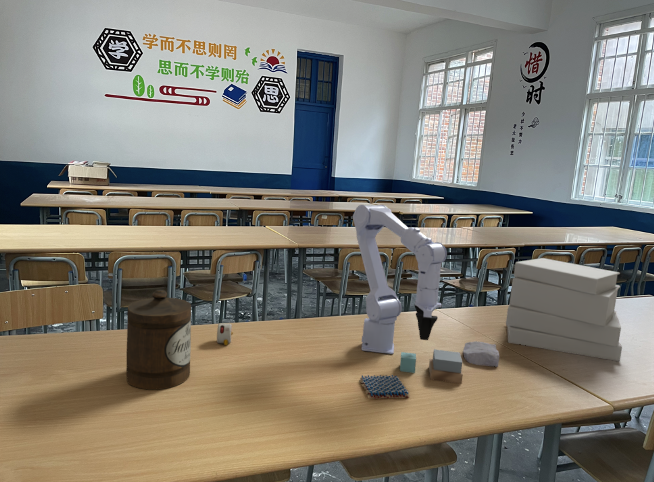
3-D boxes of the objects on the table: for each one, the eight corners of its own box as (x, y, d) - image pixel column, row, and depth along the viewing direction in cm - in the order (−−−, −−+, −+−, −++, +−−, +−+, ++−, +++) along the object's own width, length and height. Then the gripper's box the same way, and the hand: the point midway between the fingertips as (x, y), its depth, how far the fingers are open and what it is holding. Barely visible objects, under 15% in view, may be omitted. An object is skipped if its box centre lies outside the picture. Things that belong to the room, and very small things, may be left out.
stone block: (465, 369, 140) (501, 368, 138) (463, 353, 139) (500, 351, 137) (462, 356, 151) (495, 354, 149) (461, 341, 151) (494, 339, 149)
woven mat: (396, 380, 126) (397, 373, 126) (410, 400, 116) (411, 392, 116) (358, 381, 124) (358, 374, 124) (368, 401, 114) (369, 393, 114)
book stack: (627, 367, 144) (642, 284, 140) (503, 346, 155) (513, 268, 151) (607, 336, 172) (618, 266, 168) (503, 320, 183) (511, 254, 179)
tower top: (433, 369, 127) (434, 358, 127) (432, 359, 134) (433, 349, 134) (461, 373, 126) (462, 362, 126) (458, 362, 133) (459, 352, 133)
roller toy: (233, 338, 147) (233, 320, 146) (231, 346, 141) (232, 327, 140) (218, 338, 146) (218, 320, 145) (216, 346, 140) (216, 327, 139)
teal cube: (400, 371, 131) (401, 357, 131) (400, 365, 135) (401, 352, 135) (414, 373, 131) (416, 359, 130) (414, 367, 135) (415, 353, 134)
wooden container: (186, 389, 113) (187, 299, 110) (119, 390, 111) (119, 298, 107) (193, 363, 128) (194, 283, 124) (134, 364, 125) (134, 281, 122)
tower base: (430, 381, 127) (431, 370, 127) (428, 368, 135) (429, 358, 135) (461, 385, 126) (462, 374, 126) (457, 372, 134) (459, 362, 133)
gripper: (445, 295, 123) (440, 345, 126) (440, 282, 138) (435, 327, 140) (417, 292, 124) (412, 342, 127) (415, 279, 139) (411, 325, 141)
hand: (423, 334), depth 133 cm, fingers open, 7 cm apart
